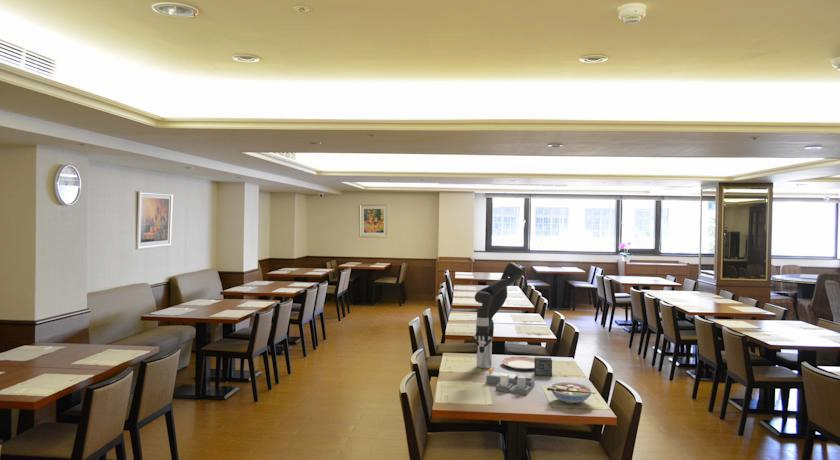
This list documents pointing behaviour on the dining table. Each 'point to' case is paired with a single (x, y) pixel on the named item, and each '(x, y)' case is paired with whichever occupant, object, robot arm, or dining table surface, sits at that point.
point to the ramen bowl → (570, 391)
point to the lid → (497, 374)
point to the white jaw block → (504, 380)
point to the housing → (513, 384)
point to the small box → (543, 366)
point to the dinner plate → (520, 362)
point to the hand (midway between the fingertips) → (481, 352)
